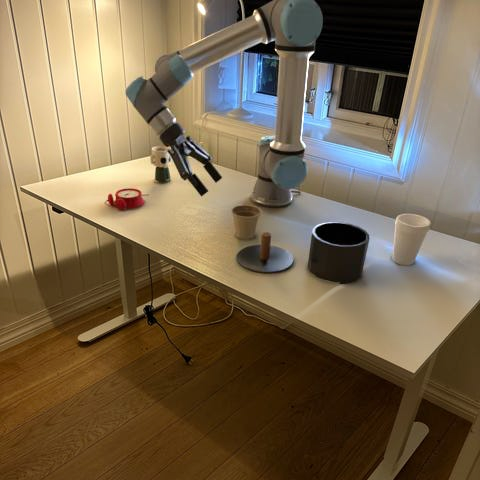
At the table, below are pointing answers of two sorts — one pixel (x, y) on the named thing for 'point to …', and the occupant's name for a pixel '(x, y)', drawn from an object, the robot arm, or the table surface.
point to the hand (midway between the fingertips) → (212, 186)
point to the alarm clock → (126, 199)
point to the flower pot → (245, 220)
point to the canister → (338, 252)
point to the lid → (264, 257)
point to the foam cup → (409, 237)
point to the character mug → (161, 163)
